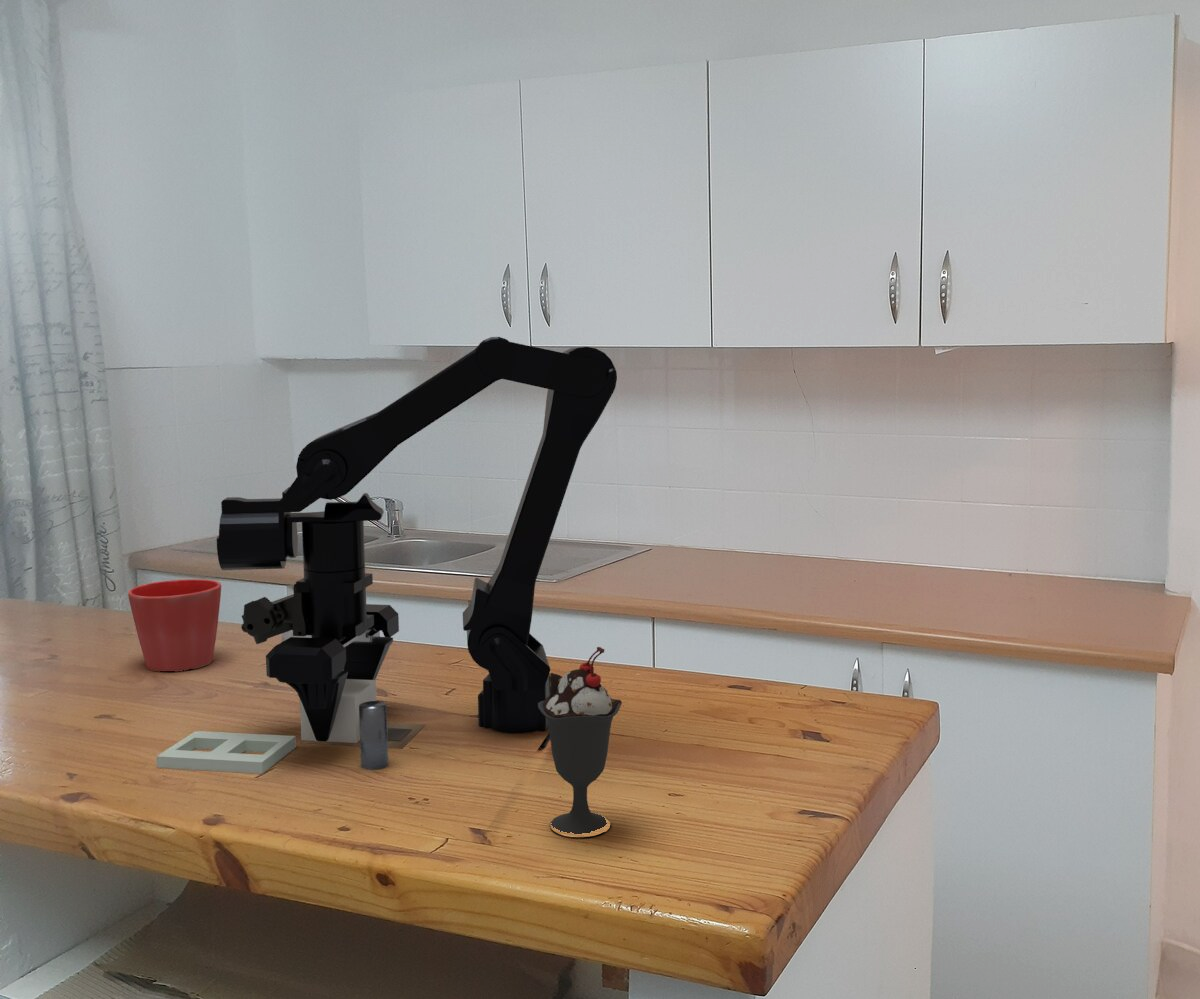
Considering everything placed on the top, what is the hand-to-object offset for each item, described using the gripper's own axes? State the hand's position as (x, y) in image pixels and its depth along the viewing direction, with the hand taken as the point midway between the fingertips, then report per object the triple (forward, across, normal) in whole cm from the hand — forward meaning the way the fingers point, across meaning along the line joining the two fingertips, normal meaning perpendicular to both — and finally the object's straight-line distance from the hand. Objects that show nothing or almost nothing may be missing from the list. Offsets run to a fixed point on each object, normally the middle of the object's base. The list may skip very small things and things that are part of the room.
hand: (340, 725), depth 113 cm
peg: (+2, +8, +6) cm, 11 cm away
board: (+2, 0, +2) cm, 3 cm away
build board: (+2, +8, -8) cm, 11 cm away
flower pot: (+2, -26, -32) cm, 41 cm away
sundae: (+2, +15, +26) cm, 31 cm away
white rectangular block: (+1, 0, 0) cm, 1 cm away
